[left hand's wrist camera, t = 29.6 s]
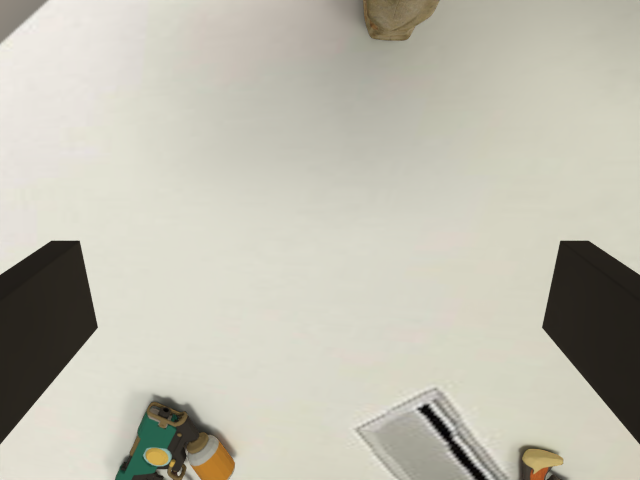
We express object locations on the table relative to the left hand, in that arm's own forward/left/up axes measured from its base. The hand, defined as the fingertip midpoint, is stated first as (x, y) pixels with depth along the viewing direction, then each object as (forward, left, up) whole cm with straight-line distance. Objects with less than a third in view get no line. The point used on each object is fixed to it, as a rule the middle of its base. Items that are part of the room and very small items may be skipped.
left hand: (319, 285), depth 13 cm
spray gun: (+40, +23, -33) cm, 57 cm away
